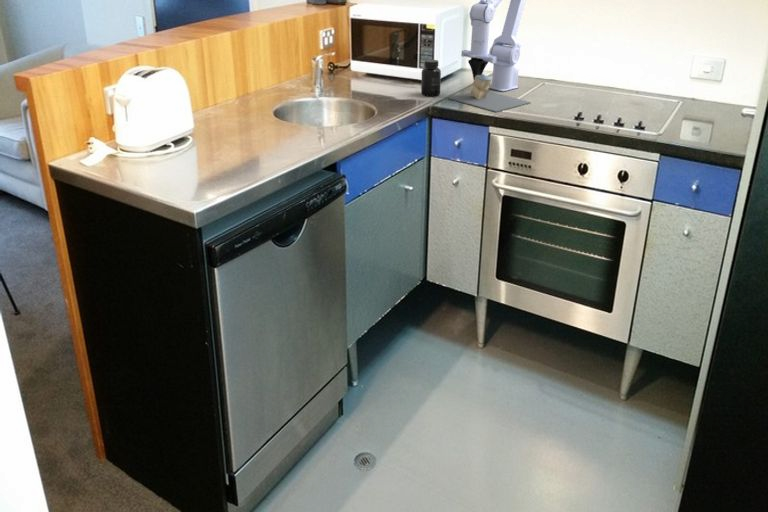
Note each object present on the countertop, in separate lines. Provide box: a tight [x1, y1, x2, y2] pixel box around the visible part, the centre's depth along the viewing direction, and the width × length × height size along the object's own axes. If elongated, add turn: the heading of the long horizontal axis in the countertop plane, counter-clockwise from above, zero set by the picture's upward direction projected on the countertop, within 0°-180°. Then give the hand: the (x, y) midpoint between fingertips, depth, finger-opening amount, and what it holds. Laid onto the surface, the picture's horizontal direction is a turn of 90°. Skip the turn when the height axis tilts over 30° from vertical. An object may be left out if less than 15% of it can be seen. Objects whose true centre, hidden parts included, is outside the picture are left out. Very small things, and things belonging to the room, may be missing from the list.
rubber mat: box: [448, 90, 531, 113], centre depth 248 cm, size 18×22×1 cm
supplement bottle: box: [420, 59, 442, 98], centre depth 252 cm, size 7×7×12 cm
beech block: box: [469, 73, 492, 99], centre depth 249 cm, size 4×4×7 cm
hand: (476, 80), depth 250 cm, fingers closed
